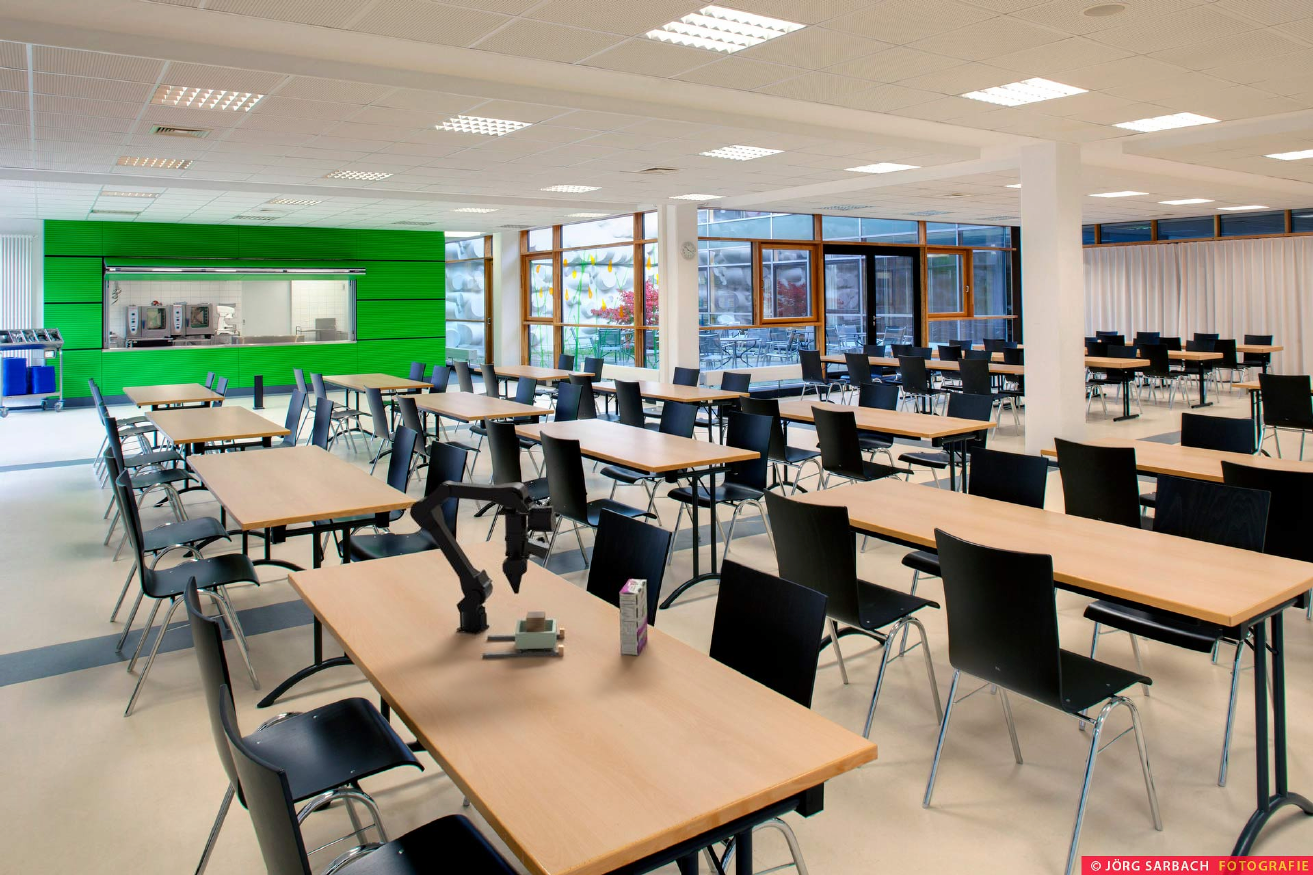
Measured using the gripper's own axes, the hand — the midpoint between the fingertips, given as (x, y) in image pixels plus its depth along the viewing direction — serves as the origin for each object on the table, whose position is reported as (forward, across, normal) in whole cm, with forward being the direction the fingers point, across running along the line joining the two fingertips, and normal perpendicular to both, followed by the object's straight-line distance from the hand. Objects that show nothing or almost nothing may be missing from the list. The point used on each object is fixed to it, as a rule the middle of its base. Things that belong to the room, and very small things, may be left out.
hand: (517, 588), depth 238 cm
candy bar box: (+12, -14, -30) cm, 35 cm away
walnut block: (+9, -12, -5) cm, 16 cm away
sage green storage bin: (+12, -12, -5) cm, 18 cm away
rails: (+12, -11, -2) cm, 17 cm away
